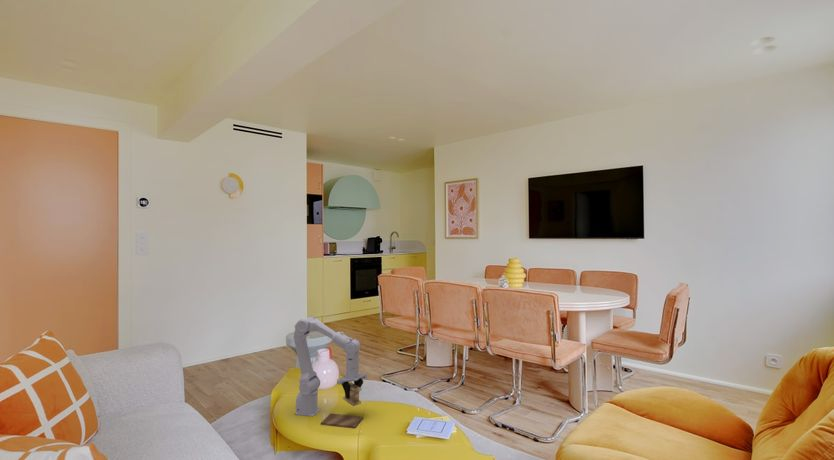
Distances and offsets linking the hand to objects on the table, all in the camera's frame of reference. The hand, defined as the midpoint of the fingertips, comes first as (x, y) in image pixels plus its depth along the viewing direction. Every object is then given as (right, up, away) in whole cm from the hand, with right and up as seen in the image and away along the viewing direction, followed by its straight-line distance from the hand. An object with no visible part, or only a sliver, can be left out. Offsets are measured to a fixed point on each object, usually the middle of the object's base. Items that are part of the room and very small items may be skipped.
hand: (352, 397), depth 182 cm
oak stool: (0, -2, 0) cm, 2 cm away
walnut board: (-3, -9, -5) cm, 11 cm away
